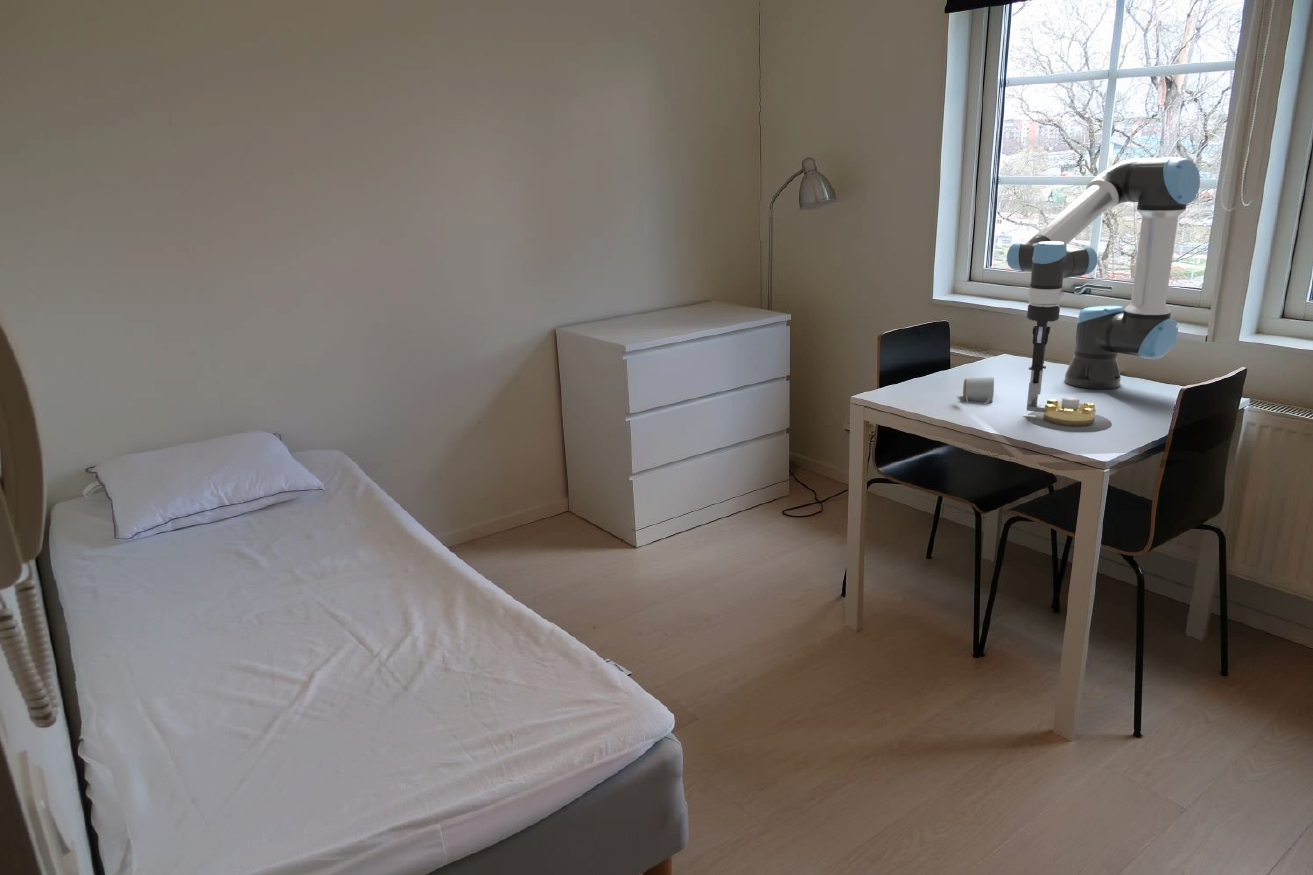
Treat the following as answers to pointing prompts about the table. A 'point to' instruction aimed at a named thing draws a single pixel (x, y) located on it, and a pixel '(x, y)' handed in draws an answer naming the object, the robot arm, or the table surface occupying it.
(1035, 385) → the gold crank wheel
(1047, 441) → the table surface
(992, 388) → the ceramic mug
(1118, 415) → the table surface
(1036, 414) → the base
